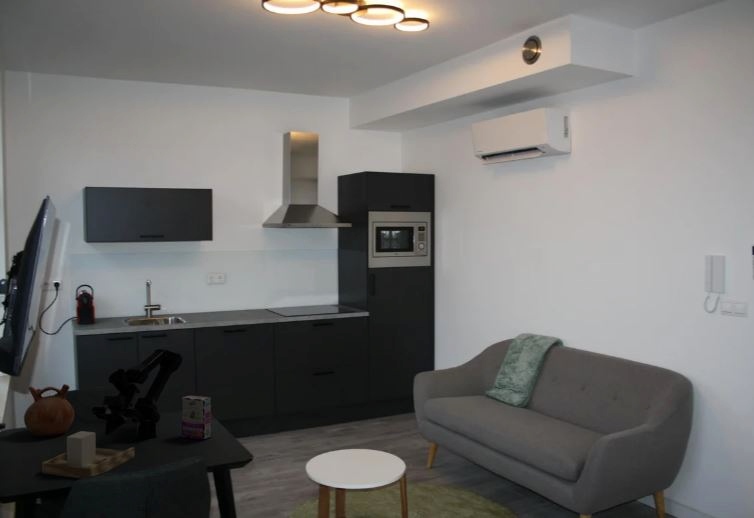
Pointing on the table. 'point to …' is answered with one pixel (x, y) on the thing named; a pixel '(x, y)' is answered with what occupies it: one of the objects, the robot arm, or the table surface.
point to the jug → (49, 413)
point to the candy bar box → (196, 417)
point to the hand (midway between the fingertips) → (106, 434)
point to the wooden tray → (103, 463)
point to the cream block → (81, 449)
